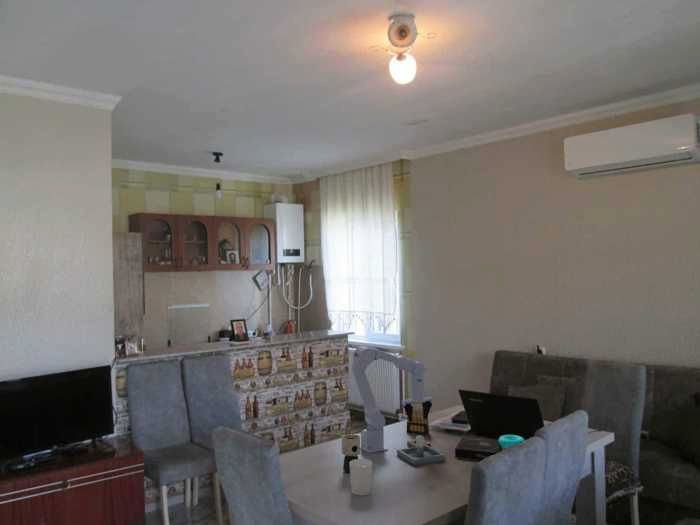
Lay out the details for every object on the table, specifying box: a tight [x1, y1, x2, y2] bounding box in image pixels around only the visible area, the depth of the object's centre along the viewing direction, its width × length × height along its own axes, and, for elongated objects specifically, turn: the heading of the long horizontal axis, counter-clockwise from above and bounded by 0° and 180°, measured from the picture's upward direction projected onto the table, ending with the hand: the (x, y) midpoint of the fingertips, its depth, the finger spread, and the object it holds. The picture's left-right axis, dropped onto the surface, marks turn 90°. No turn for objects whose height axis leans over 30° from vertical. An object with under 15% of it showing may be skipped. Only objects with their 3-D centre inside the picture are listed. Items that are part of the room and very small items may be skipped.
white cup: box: [349, 458, 373, 496], centre depth 190 cm, size 8×8×10 cm
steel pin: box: [415, 434, 425, 457], centre depth 224 cm, size 3×3×8 cm
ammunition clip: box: [406, 407, 430, 436], centre depth 259 cm, size 11×2×12 cm, turn 62°
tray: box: [396, 445, 446, 467], centre depth 224 cm, size 14×14×2 cm
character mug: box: [341, 434, 361, 473], centre depth 211 cm, size 11×7×13 cm, turn 145°
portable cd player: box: [454, 437, 503, 461], centre depth 229 cm, size 16×17×4 cm
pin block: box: [406, 439, 432, 448], centre depth 239 cm, size 8×8×2 cm
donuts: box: [498, 434, 526, 449], centre depth 216 cm, size 10×10×10 cm
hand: (417, 420), depth 243 cm, fingers open, 7 cm apart
